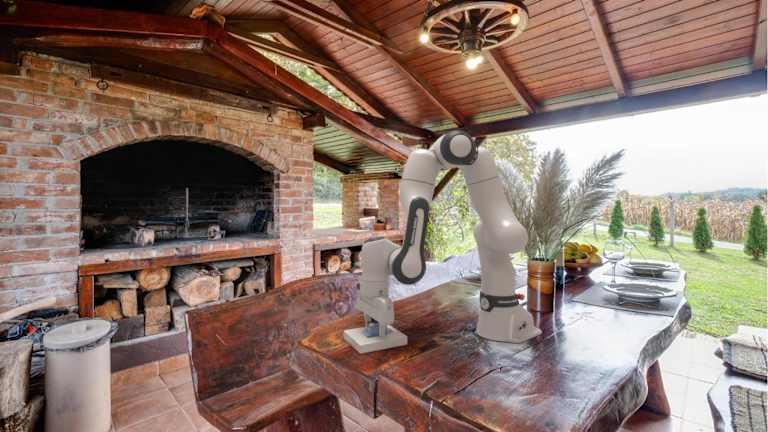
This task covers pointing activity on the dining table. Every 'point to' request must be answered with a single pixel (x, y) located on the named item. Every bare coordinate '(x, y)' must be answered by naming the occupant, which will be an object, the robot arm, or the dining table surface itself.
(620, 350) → the dining table surface
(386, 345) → the frame
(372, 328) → the servo
